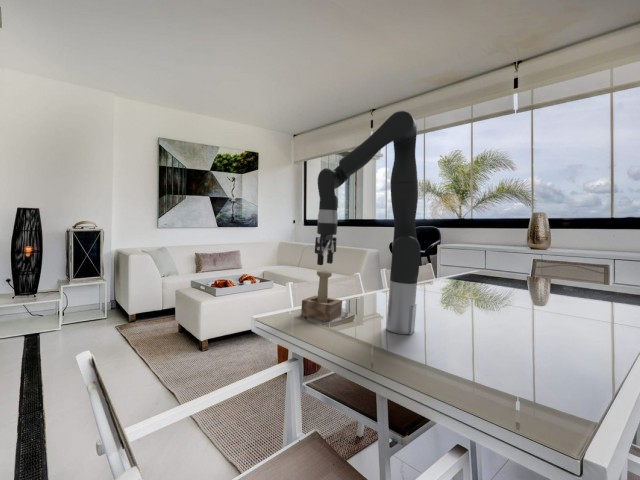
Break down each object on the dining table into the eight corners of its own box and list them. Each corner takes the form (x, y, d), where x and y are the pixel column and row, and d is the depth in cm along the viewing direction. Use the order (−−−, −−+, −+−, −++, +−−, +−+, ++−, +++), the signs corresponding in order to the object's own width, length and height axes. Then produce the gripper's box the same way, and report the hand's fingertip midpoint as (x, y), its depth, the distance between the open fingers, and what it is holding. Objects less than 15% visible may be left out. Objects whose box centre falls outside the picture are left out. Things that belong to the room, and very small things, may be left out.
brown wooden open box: (341, 315, 131) (342, 300, 131) (329, 321, 121) (330, 305, 121) (314, 310, 136) (315, 295, 136) (301, 315, 127) (302, 300, 126)
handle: (321, 313, 125) (324, 273, 124) (311, 308, 130) (314, 270, 129) (331, 311, 127) (334, 273, 127) (321, 307, 133) (324, 270, 132)
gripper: (328, 221, 119) (326, 266, 120) (343, 223, 132) (341, 263, 133) (310, 221, 123) (307, 264, 123) (326, 222, 135) (324, 261, 136)
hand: (325, 264), depth 128 cm, fingers open, 8 cm apart
